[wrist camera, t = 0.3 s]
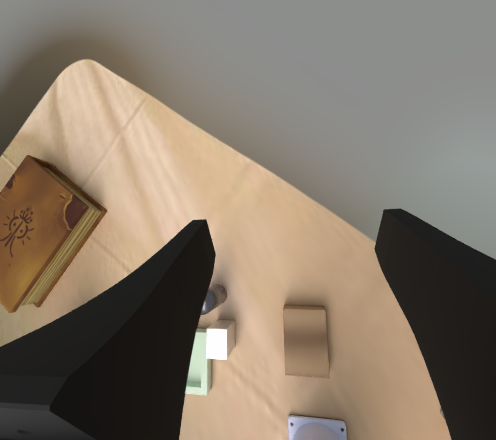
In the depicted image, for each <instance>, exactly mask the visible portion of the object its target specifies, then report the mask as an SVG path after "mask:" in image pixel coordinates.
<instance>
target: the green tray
mask: <svg viewBox="0 0 496 440" xmlns="http://www.w3.org/2000/svg"><path fill="white" fill-rule="evenodd" d="M206 349H207V329H200V328H197V330H196V335H195V340H194V345H193V350H192V355H191V361H190V367H189V373H188V379H187V385H186V392H185V393H187V394H197V395H208V393H209V392H210V390H211V388H212V359H210V358H206Z"/></svg>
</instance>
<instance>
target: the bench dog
mask: <svg viewBox="0 0 496 440" xmlns="http://www.w3.org/2000/svg"><path fill="white" fill-rule="evenodd" d="M234 348H235V320H217V321H215V322H214V323H213V324H212V325H211V326H209V327H208V328H207V349H206V358H210V359H225V360H227V358H228V357H229V355H230V354H231V352H232V351H233V349H234Z"/></svg>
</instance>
